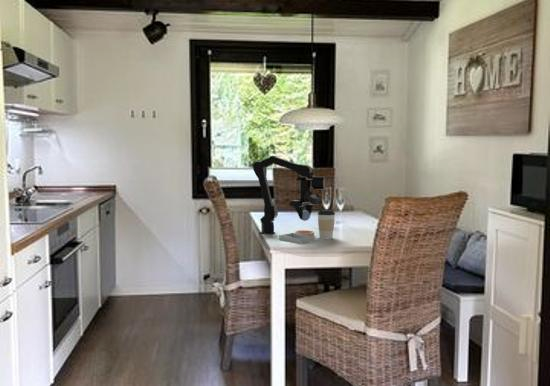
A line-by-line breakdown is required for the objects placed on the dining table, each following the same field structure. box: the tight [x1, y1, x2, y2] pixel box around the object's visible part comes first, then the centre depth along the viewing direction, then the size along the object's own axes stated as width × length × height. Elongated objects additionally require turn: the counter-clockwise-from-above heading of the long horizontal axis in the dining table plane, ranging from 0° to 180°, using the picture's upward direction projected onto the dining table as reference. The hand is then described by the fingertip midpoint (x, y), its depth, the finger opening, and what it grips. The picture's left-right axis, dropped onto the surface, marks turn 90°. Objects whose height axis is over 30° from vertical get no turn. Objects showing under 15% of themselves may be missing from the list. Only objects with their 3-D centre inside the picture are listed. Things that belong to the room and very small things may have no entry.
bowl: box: [294, 229, 315, 236], centre depth 282 cm, size 10×10×2 cm
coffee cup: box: [317, 208, 336, 240], centre depth 276 cm, size 9×9×15 cm
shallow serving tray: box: [278, 232, 316, 245], centre depth 269 cm, size 15×10×2 cm
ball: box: [300, 209, 311, 222], centre depth 281 cm, size 6×6×6 cm
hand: (304, 218), depth 282 cm, fingers closed on ball, 6 cm apart
